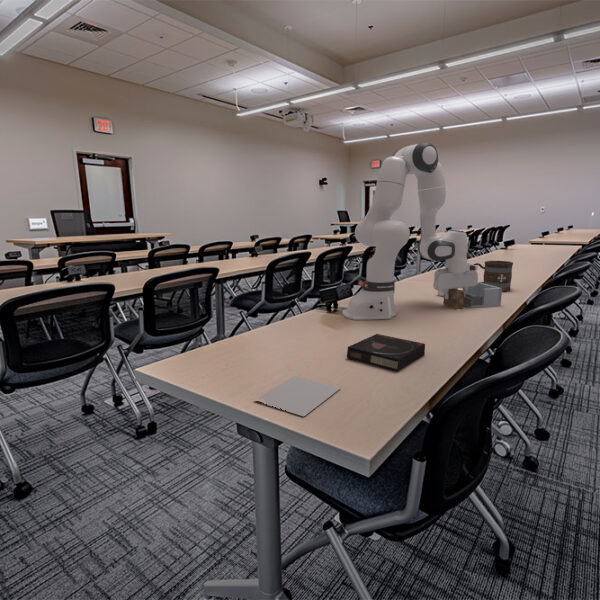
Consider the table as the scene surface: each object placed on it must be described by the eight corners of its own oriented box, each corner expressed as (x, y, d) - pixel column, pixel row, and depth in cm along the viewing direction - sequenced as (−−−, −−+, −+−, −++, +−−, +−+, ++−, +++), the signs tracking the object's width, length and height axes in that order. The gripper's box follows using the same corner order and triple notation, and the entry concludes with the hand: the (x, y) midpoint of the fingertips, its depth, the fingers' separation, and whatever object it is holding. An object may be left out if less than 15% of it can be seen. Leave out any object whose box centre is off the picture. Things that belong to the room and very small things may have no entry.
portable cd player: (346, 360, 119) (346, 347, 118) (376, 345, 132) (377, 333, 131) (396, 374, 108) (397, 360, 108) (424, 356, 121) (425, 343, 120)
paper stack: (223, 393, 98) (223, 391, 98) (284, 361, 118) (284, 359, 118) (303, 419, 85) (303, 416, 85) (356, 378, 106) (356, 376, 105)
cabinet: (470, 308, 176) (471, 290, 174) (450, 301, 190) (451, 284, 189) (500, 305, 179) (502, 288, 178) (478, 299, 194) (480, 282, 192)
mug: (511, 289, 216) (513, 261, 213) (509, 293, 205) (512, 264, 202) (471, 286, 226) (473, 259, 223) (468, 290, 215) (470, 262, 211)
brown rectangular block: (456, 309, 174) (457, 291, 172) (443, 304, 184) (444, 287, 182) (462, 309, 175) (463, 291, 173) (449, 304, 184) (450, 287, 183)
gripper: (438, 270, 171) (438, 302, 174) (480, 266, 175) (479, 297, 178) (430, 268, 177) (430, 299, 180) (471, 264, 181) (470, 294, 184)
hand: (455, 298), depth 179 cm, fingers open, 6 cm apart
